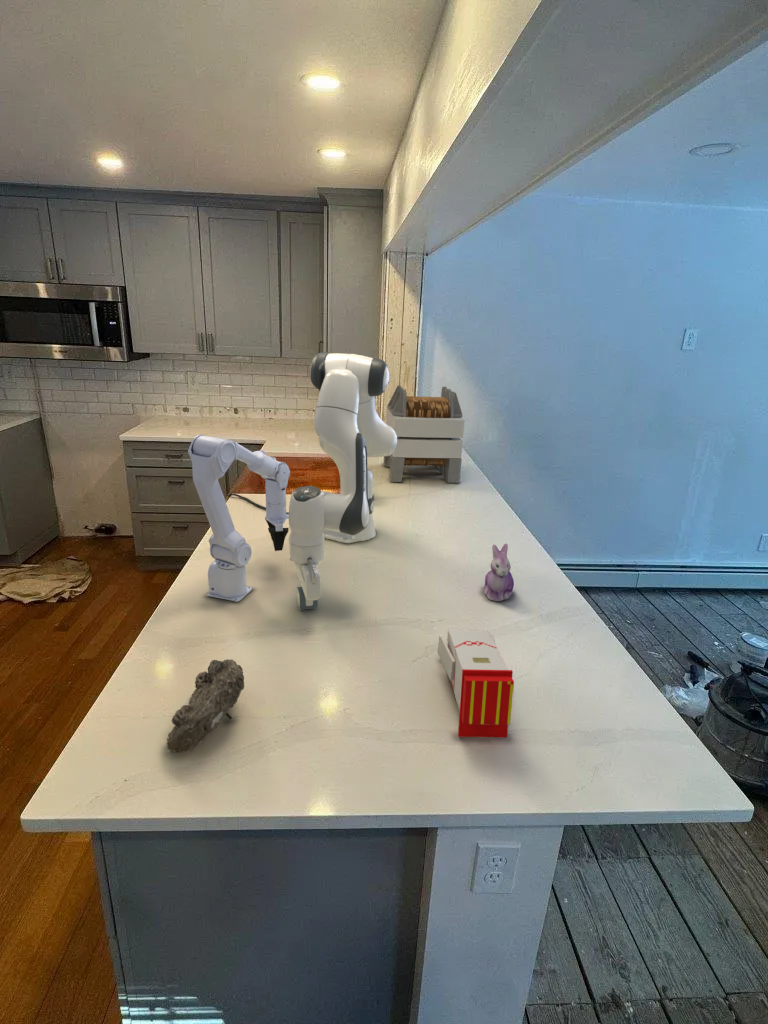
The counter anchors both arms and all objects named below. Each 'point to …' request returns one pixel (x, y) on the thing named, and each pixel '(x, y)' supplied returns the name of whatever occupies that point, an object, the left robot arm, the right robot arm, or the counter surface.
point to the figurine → (499, 576)
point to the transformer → (426, 433)
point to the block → (302, 600)
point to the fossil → (206, 705)
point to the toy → (478, 682)
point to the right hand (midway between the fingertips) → (307, 599)
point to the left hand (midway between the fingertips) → (277, 545)
